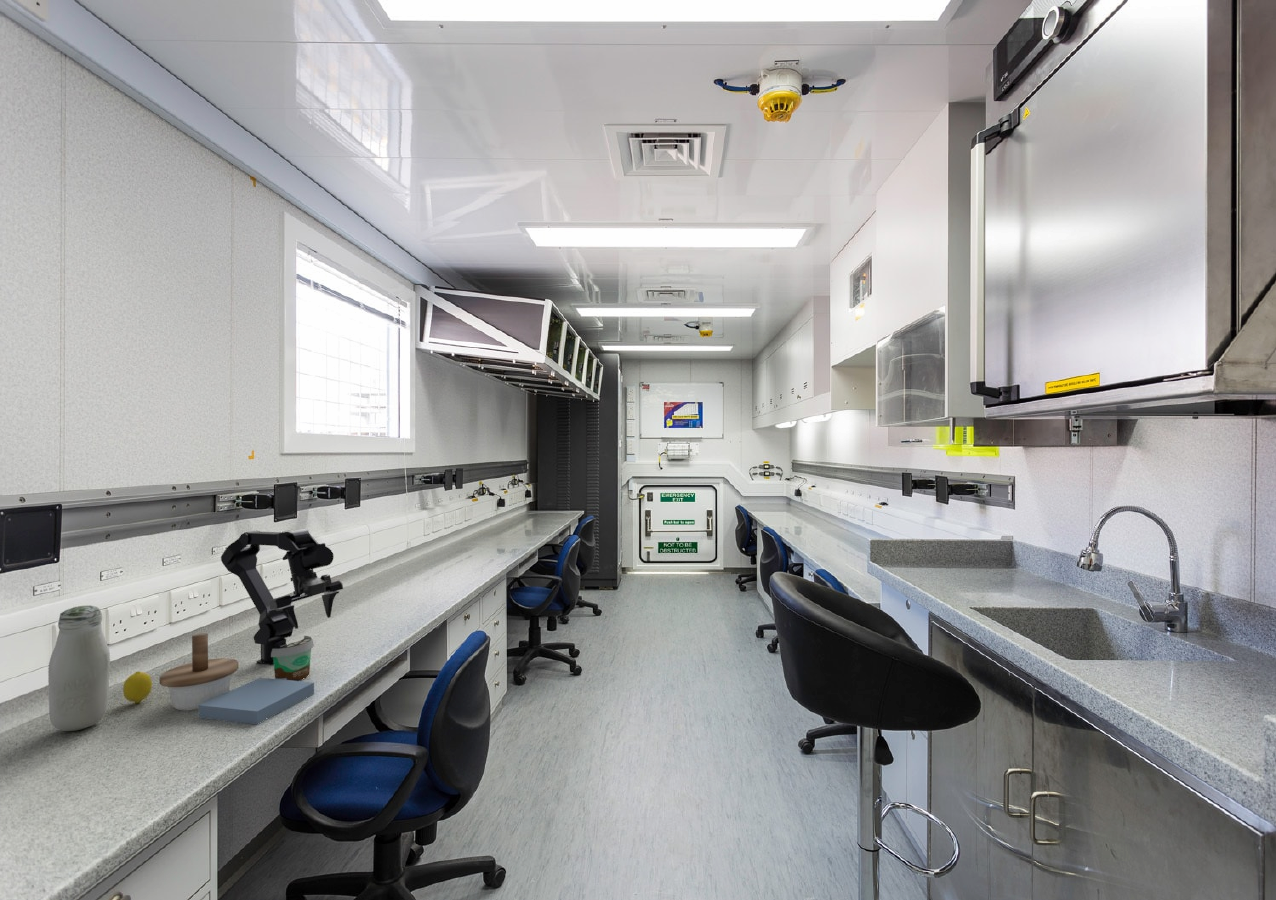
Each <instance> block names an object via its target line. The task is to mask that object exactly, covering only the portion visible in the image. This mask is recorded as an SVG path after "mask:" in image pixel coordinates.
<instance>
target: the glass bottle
mask: <svg viewBox="0 0 1276 900" xmlns="http://www.w3.org/2000/svg"><path fill="white" fill-rule="evenodd" d="M102 621H103V613H102V611H101V609H100V608H99V607H98V606H95V605H79V606H74V607H71V608H68V609H65V610H64V611H62V612H60V614H59V618H58V622H57V624H58V625H57V626H58V630H59V631H58V633H57V637H56V641H55V646H54V648H53V650H52V652H51V655H50V658H49V662H48V668H47V669H48V671H47V673H48V680H47V681H48V710H49V711H48V712H49V713H48V714H49V719H50V720H49V721H50V723H51V726H53V727H54V728H55V729H57V730H59V731H64V732H74V731H79V730H83V729H87V728H89V727H91V726H94V725H96V724H97V723H99V722H100V721H102V719H103V718H104V716H105V715H106V713H107V711H108V709H109V701H110V670H111V669H110V666H111V656H110V648H109V646H108V643H107V640H106V637H105V635H104V633H103V627H102Z"/></svg>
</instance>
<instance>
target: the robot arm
mask: <svg viewBox="0 0 1276 900" xmlns="http://www.w3.org/2000/svg"><path fill="white" fill-rule="evenodd" d="M260 546H273V547H277V549H279V550H282V551H285V555H284V556H283V557H282V561H286V560H287V561H288V565H289V570H290V574H291V577H290V582H292V585H293V589H294V591H293V594H292V595H290V594H288V595H283V596H278V597H275V598H274V597H273V595H272V594H271V593H272V592H270V589H269V587H268V586H267V585H266V583H265V580H263V578H262V576H261V574H260V573H259V570H258V569H257V564H258V557H257V555H258V553H259V552H260V549H261V547H260ZM334 556H335V555H334V553H333V551H332V549H331V548H330V547H327V545H326V543H325V542H323V543H322V542H321V543H319V542H317V540H316V539H315V538H314V537H313V536H312V535H311V533H310V531H309V530H308V529H306V528H303V529H302V528H301V529H296V530H288V531H283V532H277V531H260V530H252V531H246V532H243V533H242V534H240V536H239V537H238V538H237V539H236V540H234V541H233V542H232V543H230V544H229V545H227V547H226V548H225V550H224V551H223V552H222V554H221V557H220V560H221V563H222V564H223V566H224V567H225V568H226V570H227V571H228V572H230V573H232V575H235V576H237V577H238V578H239V580H240V582H241V583H242V586H243V587H244V589H245V590H246V592H247V594H248V596H249V597H250V599H251V601H252V603H253V605H254V607H255V608H256V610H257V612H258V614H259V618H258V627H259V629H258V630H257V632H256V633H255V634H254V635H253V641H254V643H255V644H258V645H260V659H257V660H256V664H266V665H274V662H273V657H271V652H272V649H281V648H283V647H285V646H286V645H288V644H287V638H289V637H292V636H293V635H292V634H293V631H294V629H299V624H298V620H297V617H296V616H297V615H296V612H295V605H294V604H292V603H293V602H298V601H301V600H303V599H307V598H311V597H313V596H317V595H320V594H322V595H321V598H322V603H323V607H324V611H325V615H326V617H327V618H328V619H330V618H331V616H332V609H333V602H334V599H335V597H336V596H337V594H340V590H343V589H344V586H343V583H342V582H341V580H335V581H332V579H331V575H330V574H329V573H326V574H323V575H321V577H318V575H317V573H316V571H314V569H318V568H319V569H320V568H324V567H327V566H330V565H331V564H332V563H333V561H334Z"/></svg>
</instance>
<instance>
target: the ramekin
mask: <svg viewBox="0 0 1276 900" xmlns="http://www.w3.org/2000/svg"><path fill="white" fill-rule="evenodd" d="M232 675H233V673H232V674H231V675H229V676H226V677H224V678H221V679H218V680H215V681H212V682H208V683H204V684H199V685H193V686H186V687H167V689H168V692H169V699H170V704H171V706H172V707H173V708H174V709H176V710H178V711H193V710H192V709H194V710H199V705H200V704H202V703H204V702H207V701H209V700H211V699H213V698H216V697H218V696H220V695H222V694H225V693H227V692H229V691H230V688H231V680H232Z"/></svg>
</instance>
